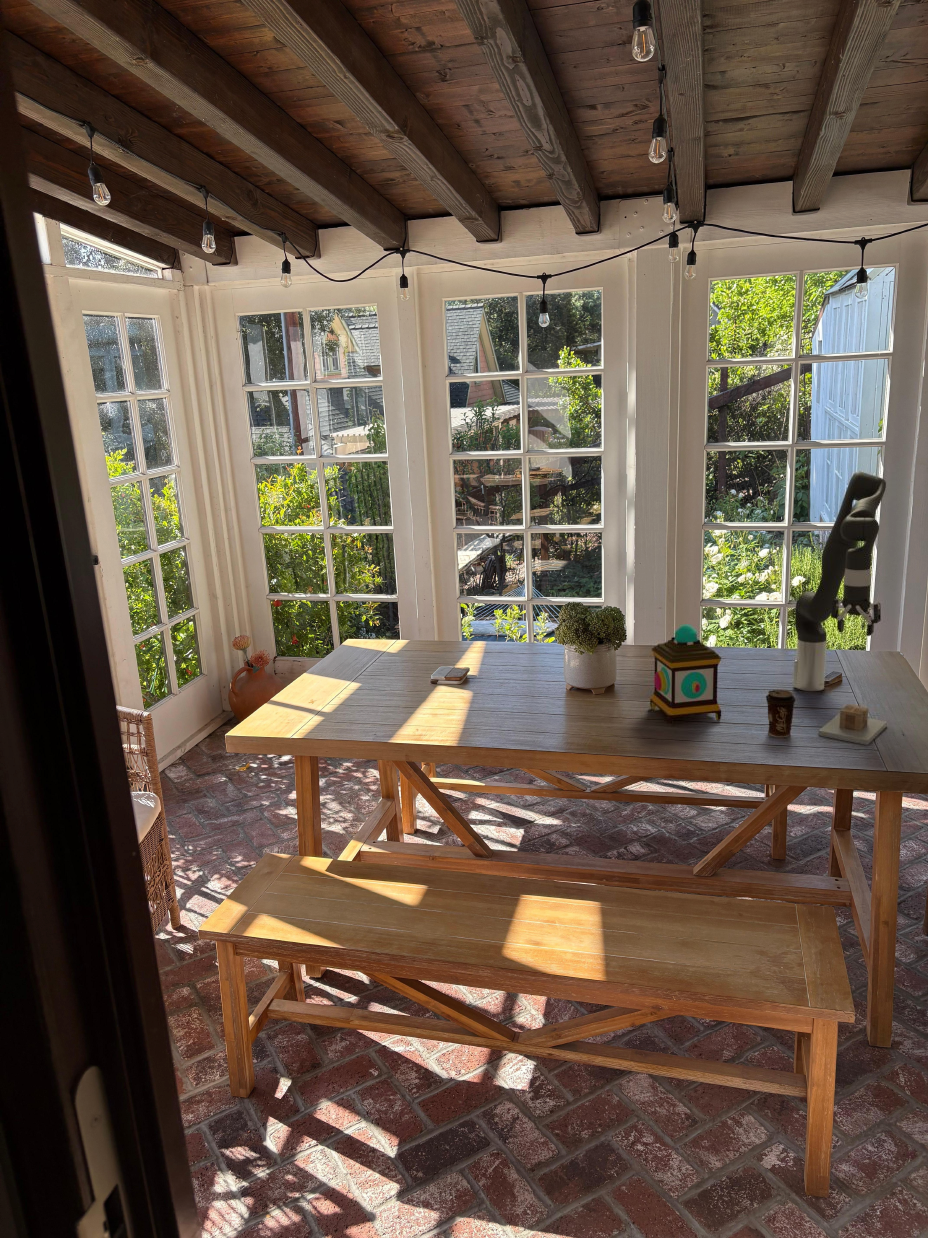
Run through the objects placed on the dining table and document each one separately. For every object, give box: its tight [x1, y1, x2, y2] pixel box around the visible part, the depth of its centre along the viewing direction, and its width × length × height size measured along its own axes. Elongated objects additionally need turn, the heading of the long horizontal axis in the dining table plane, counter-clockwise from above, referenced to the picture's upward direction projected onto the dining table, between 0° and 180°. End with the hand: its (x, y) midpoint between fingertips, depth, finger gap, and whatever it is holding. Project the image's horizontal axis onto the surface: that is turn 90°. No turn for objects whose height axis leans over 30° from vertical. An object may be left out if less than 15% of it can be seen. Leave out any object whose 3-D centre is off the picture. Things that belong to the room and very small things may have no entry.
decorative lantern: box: [649, 624, 722, 726], centre depth 289 cm, size 20×20×30 cm
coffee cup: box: [765, 689, 796, 739], centre depth 272 cm, size 9×8×13 cm
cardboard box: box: [839, 704, 869, 731], centre depth 271 cm, size 7×6×6 cm
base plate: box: [818, 712, 888, 746], centre depth 272 cm, size 14×18×2 cm
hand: (854, 633), depth 282 cm, fingers open, 8 cm apart
